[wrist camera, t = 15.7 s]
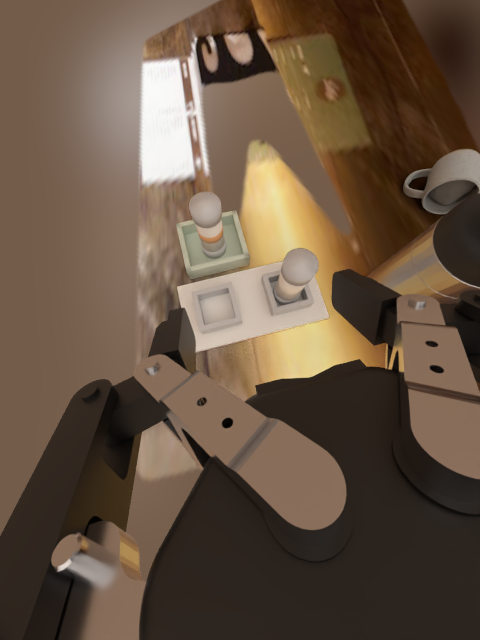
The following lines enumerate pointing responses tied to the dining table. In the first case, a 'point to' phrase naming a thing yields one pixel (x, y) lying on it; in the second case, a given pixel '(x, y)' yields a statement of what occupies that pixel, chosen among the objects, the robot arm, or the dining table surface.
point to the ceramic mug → (448, 181)
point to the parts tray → (204, 265)
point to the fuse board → (246, 307)
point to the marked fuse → (208, 223)
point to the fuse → (295, 275)
